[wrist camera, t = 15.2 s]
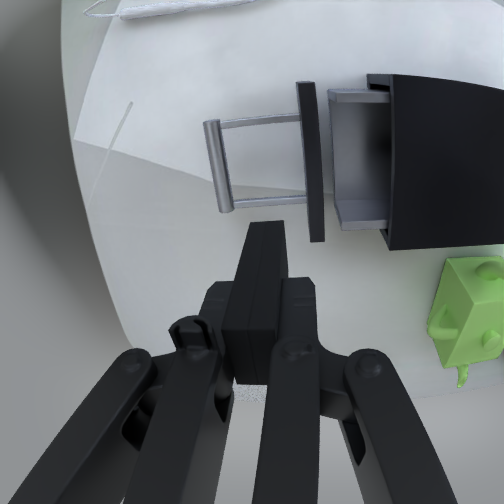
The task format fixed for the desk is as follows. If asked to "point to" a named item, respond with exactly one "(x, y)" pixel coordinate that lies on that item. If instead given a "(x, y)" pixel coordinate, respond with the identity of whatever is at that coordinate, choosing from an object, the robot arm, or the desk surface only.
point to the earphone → (163, 8)
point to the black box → (444, 162)
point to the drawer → (343, 159)
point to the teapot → (468, 313)
